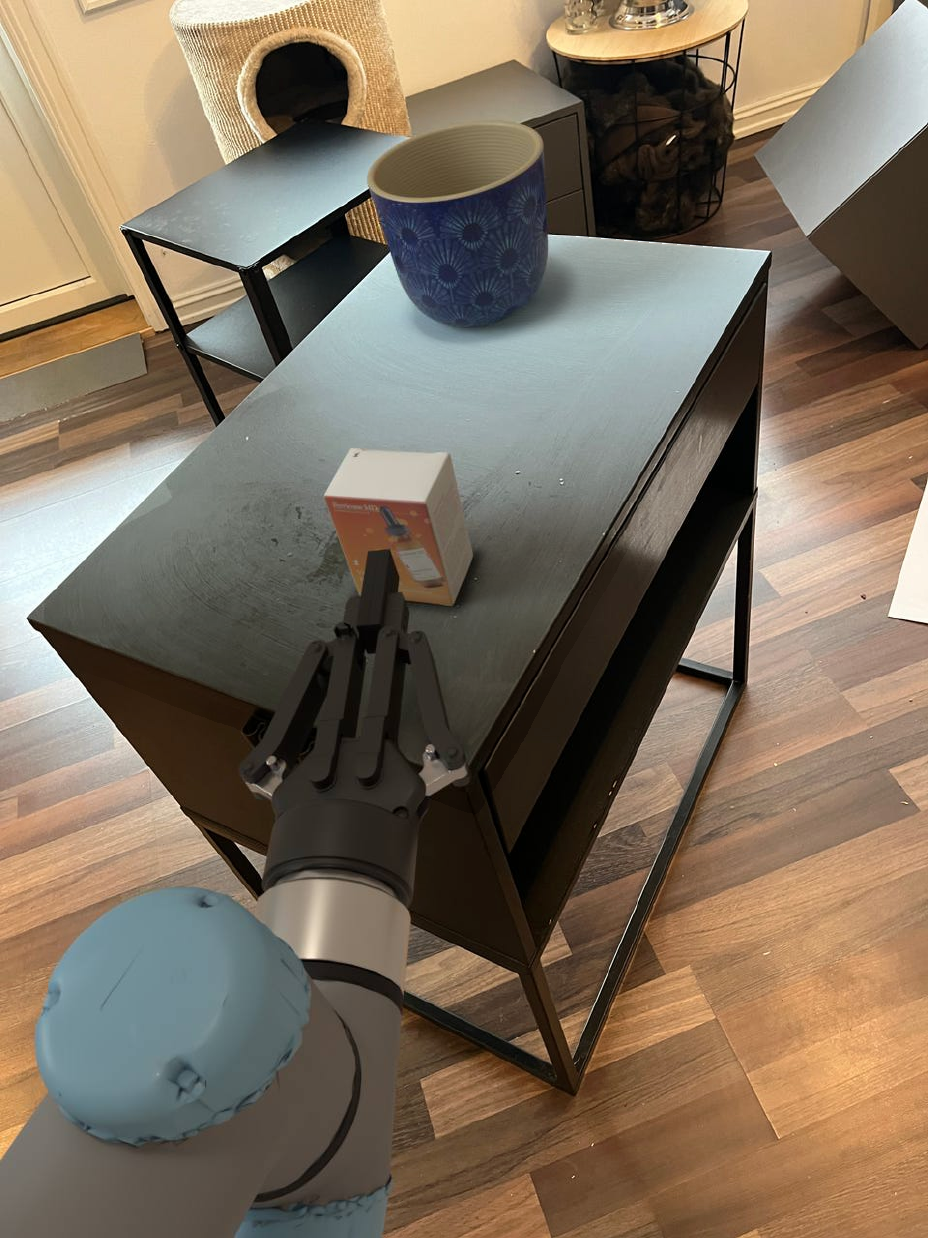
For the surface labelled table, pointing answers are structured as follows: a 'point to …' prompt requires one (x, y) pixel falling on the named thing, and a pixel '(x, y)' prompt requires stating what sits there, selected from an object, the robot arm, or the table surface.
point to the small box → (403, 519)
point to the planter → (465, 219)
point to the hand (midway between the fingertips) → (384, 564)
